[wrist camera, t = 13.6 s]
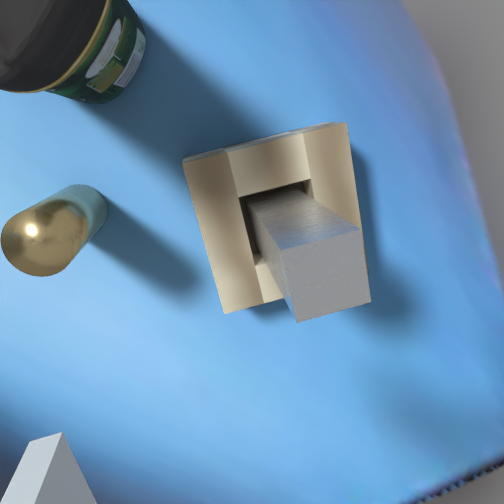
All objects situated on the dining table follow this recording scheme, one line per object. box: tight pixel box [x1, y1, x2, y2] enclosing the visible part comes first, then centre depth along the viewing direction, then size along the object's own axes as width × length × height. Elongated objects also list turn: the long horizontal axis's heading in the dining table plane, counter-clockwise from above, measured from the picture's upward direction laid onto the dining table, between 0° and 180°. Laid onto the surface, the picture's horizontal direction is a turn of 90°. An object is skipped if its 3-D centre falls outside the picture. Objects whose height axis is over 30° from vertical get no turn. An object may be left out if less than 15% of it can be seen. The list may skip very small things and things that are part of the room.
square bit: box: [245, 186, 371, 323], centre depth 27 cm, size 4×4×14 cm
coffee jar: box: [0, 0, 146, 104], centre depth 21 cm, size 10×8×19 cm
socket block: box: [182, 122, 369, 314], centre depth 33 cm, size 12×12×5 cm
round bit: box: [1, 184, 108, 277], centre depth 28 cm, size 4×4×10 cm
